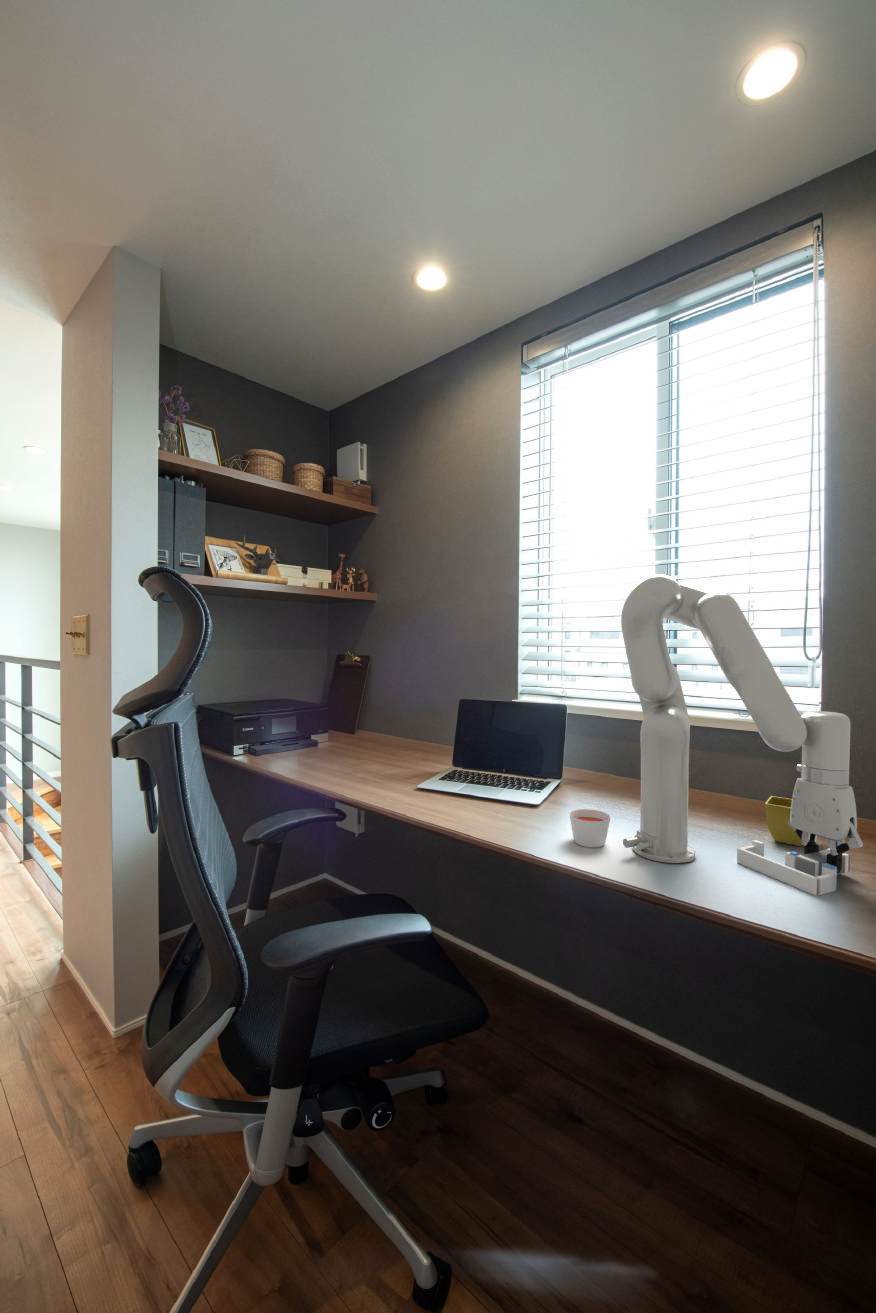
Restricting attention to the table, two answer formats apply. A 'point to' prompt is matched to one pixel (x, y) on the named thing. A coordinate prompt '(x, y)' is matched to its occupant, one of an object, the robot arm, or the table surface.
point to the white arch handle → (788, 870)
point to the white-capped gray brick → (818, 862)
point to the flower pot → (780, 820)
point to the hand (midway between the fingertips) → (822, 868)
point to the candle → (589, 827)
